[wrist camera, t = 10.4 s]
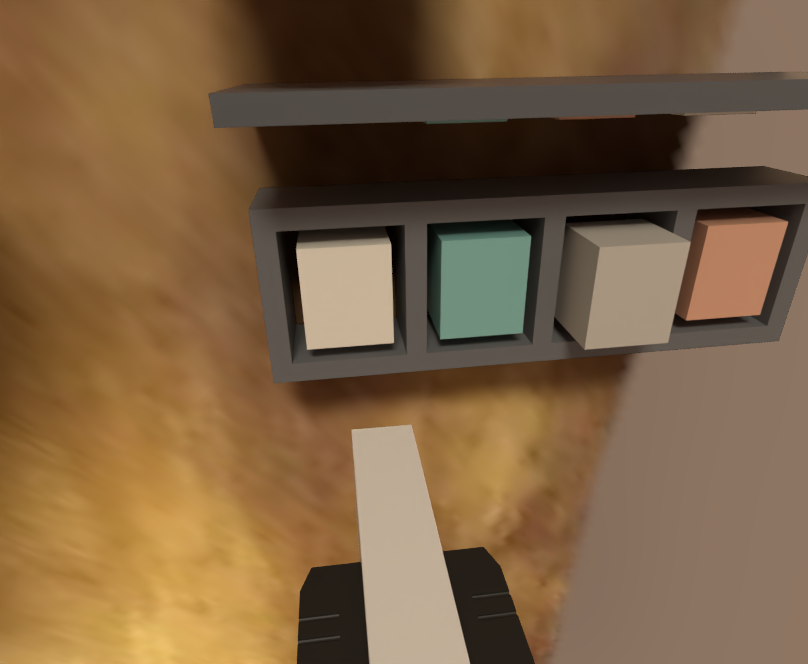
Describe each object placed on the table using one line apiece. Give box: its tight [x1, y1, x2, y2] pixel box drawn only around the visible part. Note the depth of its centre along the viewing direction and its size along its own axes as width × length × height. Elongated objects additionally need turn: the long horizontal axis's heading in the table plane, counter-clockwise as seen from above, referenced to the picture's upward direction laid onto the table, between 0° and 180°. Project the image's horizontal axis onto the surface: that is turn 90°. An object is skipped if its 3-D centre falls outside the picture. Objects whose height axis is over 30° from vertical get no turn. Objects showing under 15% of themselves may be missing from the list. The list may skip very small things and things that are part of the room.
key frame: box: [249, 166, 808, 383], centre depth 28 cm, size 27×9×4 cm, turn 91°
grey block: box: [554, 219, 691, 350], centre depth 26 cm, size 4×5×4 cm
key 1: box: [296, 226, 394, 350], centre depth 27 cm, size 4×5×4 cm
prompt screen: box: [209, 72, 808, 128], centre depth 23 cm, size 27×1×9 cm, turn 91°
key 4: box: [675, 207, 788, 321], centre depth 29 cm, size 4×5×4 cm
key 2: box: [427, 219, 531, 339], centre depth 28 cm, size 4×5×4 cm
